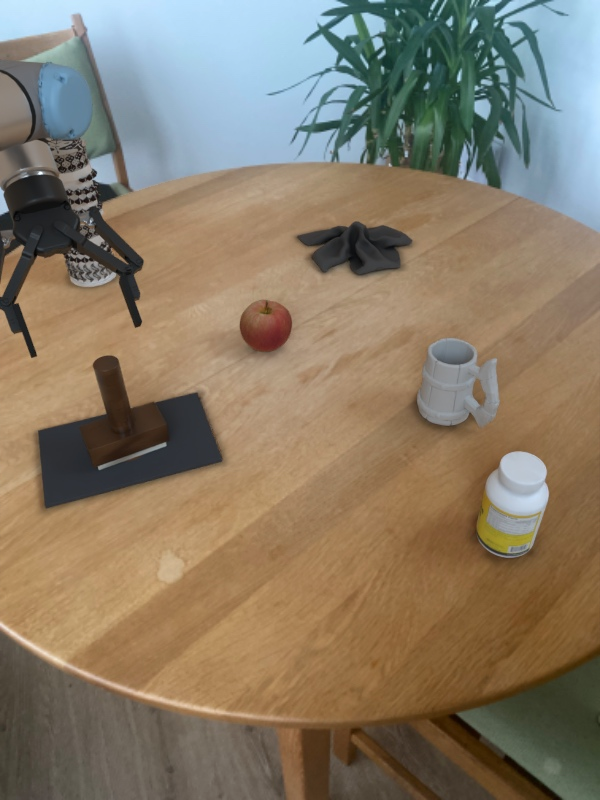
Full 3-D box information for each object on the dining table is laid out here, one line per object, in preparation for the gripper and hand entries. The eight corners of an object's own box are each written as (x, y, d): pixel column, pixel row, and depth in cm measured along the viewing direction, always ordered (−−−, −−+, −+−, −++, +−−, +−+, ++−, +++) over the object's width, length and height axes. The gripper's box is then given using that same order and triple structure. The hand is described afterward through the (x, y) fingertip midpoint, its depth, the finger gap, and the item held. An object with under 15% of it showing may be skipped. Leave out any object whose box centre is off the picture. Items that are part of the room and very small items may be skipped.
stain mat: (46, 508, 81) (44, 504, 81) (39, 433, 91) (37, 429, 91) (222, 461, 87) (221, 457, 86) (197, 395, 97) (197, 391, 96)
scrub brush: (95, 473, 85) (67, 388, 75) (85, 448, 88) (57, 364, 79) (171, 446, 88) (153, 361, 79) (158, 423, 91) (140, 339, 82)
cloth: (414, 231, 133) (417, 201, 129) (405, 280, 119) (408, 248, 115) (303, 223, 136) (303, 194, 132) (282, 269, 123) (281, 238, 119)
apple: (288, 327, 109) (287, 284, 104) (296, 357, 103) (294, 313, 98) (239, 332, 108) (235, 289, 103) (244, 362, 102) (239, 319, 97)
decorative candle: (108, 257, 128) (77, 121, 111) (127, 278, 122) (96, 138, 105) (61, 271, 124) (21, 133, 108) (77, 293, 118) (37, 151, 102)
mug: (440, 383, 97) (450, 314, 89) (508, 425, 91) (526, 353, 83) (404, 407, 94) (411, 337, 86) (472, 452, 87) (487, 380, 79)
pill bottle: (505, 506, 80) (525, 436, 72) (545, 545, 76) (570, 475, 68) (462, 528, 78) (477, 458, 70) (501, 570, 73) (521, 500, 66)
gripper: (124, 178, 95) (175, 319, 95) (-66, 218, 86) (-10, 373, 86) (127, 153, 88) (183, 305, 87) (-78, 194, 79) (-18, 363, 79)
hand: (87, 339), depth 87 cm, fingers open, 13 cm apart
